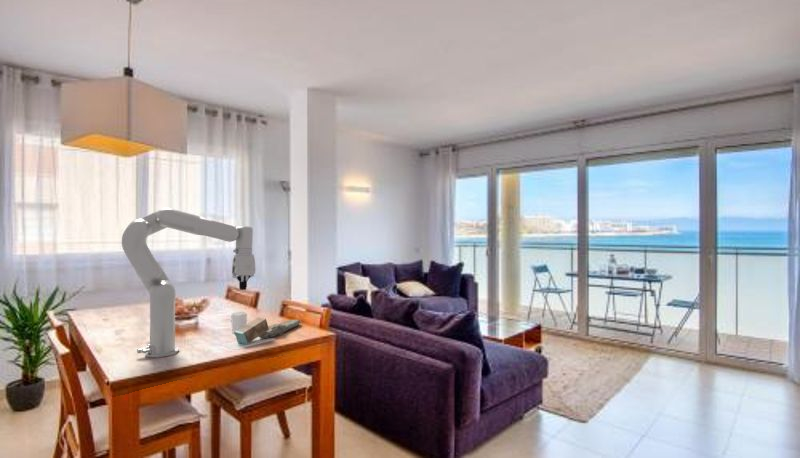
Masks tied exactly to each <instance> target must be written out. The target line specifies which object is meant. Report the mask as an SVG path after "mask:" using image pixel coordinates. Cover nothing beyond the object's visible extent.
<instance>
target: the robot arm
mask: <svg viewBox="0 0 800 458" xmlns="http://www.w3.org/2000/svg"><path fill="white" fill-rule="evenodd" d="M167 228H168V229H173V230H176V231H180V232H185V233H188V234H192V235H196V236H197V235H198V236H204V237H208V238H212V239H218V240H220V241H221V240H222V241H224V242H228V243H229V242H235V248H234V249H233V253H235V254H234V255H233V260H232V265H231V274H232V276H231V277H232V279H236V280H237V281H238V283H239V287H238V288H239V290H240V291H241V290H242V291H247V287H248V284H247V283H248V281H249V279H251V278H253V277H255V274H256V260H255V255H254V254H253V236H254V232H253V231H254V229H253V227H252V226H244V225H242V226H241V225H240V226H233V225H231V224H228V223H227V224H226V223H224V222H220V221H216V220H212V219H209V218H205V217H203V216H200V215H196V214H192V213H190V212H186V211H182V210H179V209H175V208H170V207H163V208H160V209H159V210H156V211H154V212H151V213H150V214H147V215H144V216H143V217H140V218H138V219H134V220H133V221H131V222H130V223H129V224H128V225H127V227H126V228H125V230H124V231H123V233H122V237H121V247H122V250H123V252H124V254H125V256H126V258H127V259H128V261H129V263H130V264H131V267H133V270H134V271H135V274H136V275H137V277H138V279H139V280H140V281H141V283H142V284H143V286H144V287H145V289H146V291H147V292H148V294H149V343H147V346H145V347H141V348H137V349H136V353H137V354H145V356H146V357H147V358H153V357H156V358H163V357H164V356H165V357H169V356H173V355H176V354H178V353H179V350H180V348H179V347H178V346H176V345H175V344H176V343H175V342H176V309H175V308H176V289H175V287H174V285H173V284H172V282H171V280H170V279H169V277H168V275H167V274H166V273H165V272H166V271H164V269H163V268H162V265H161V264H160V263H159V262H158V261H157V260H156V258H155V257H154V255H153V254H152V252H151V249H150V248H149V247H148V245H147V242H146V241H147V238H148V237H149V236H152V235H153V234H155V233H158V232H161V231H162V230H165V229H167Z"/></svg>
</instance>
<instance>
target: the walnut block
mask: <svg viewBox="0 0 800 458" xmlns="http://www.w3.org/2000/svg"><path fill="white" fill-rule="evenodd" d="M268 330H269V325H268V322H267V318H263V317H256V318H255V319H253V320H251V321H250V322H247V324H246V325H245V326H243V327H241V328H240V329H238V330H236V331H235V332H234V335H235V338H236V339H235V340H236V341H237V342H238V343H240V344H243V345H247V344H248V343H249V342H251V341H252V340H254V339H256V338H257V337H259V336H260V335H262V334H263V333H265V332H266V331H268Z"/></svg>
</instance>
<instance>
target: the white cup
mask: <svg viewBox="0 0 800 458" xmlns="http://www.w3.org/2000/svg"><path fill="white" fill-rule="evenodd" d="M230 318H231V320H230V321H231V323H230V324H231V330H232V331H231V332H232V334H234V335H235V333H234V332H235V331H236V330H238V329H240V328H241V327H243V326H245V325H246V324H248V312H245V311H238V312H237V311H236V312H232V313H231V314H230Z"/></svg>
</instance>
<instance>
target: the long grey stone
mask: <svg viewBox="0 0 800 458" xmlns="http://www.w3.org/2000/svg"><path fill="white" fill-rule="evenodd" d="M300 324H301V320H300V319H290V320H289V319H288V320H286V321H283V322H280V323H274V324H273V325H268V327H269V330H268V331H266V332H265V333H263V334H262V335H260V336H259V337H260V338H269V337H271V338H274V337H277V336H281V335H282V334H283V333H286V332H287V331H288V330H292V329H293V328H296V327H298V326H299V325H300Z"/></svg>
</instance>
